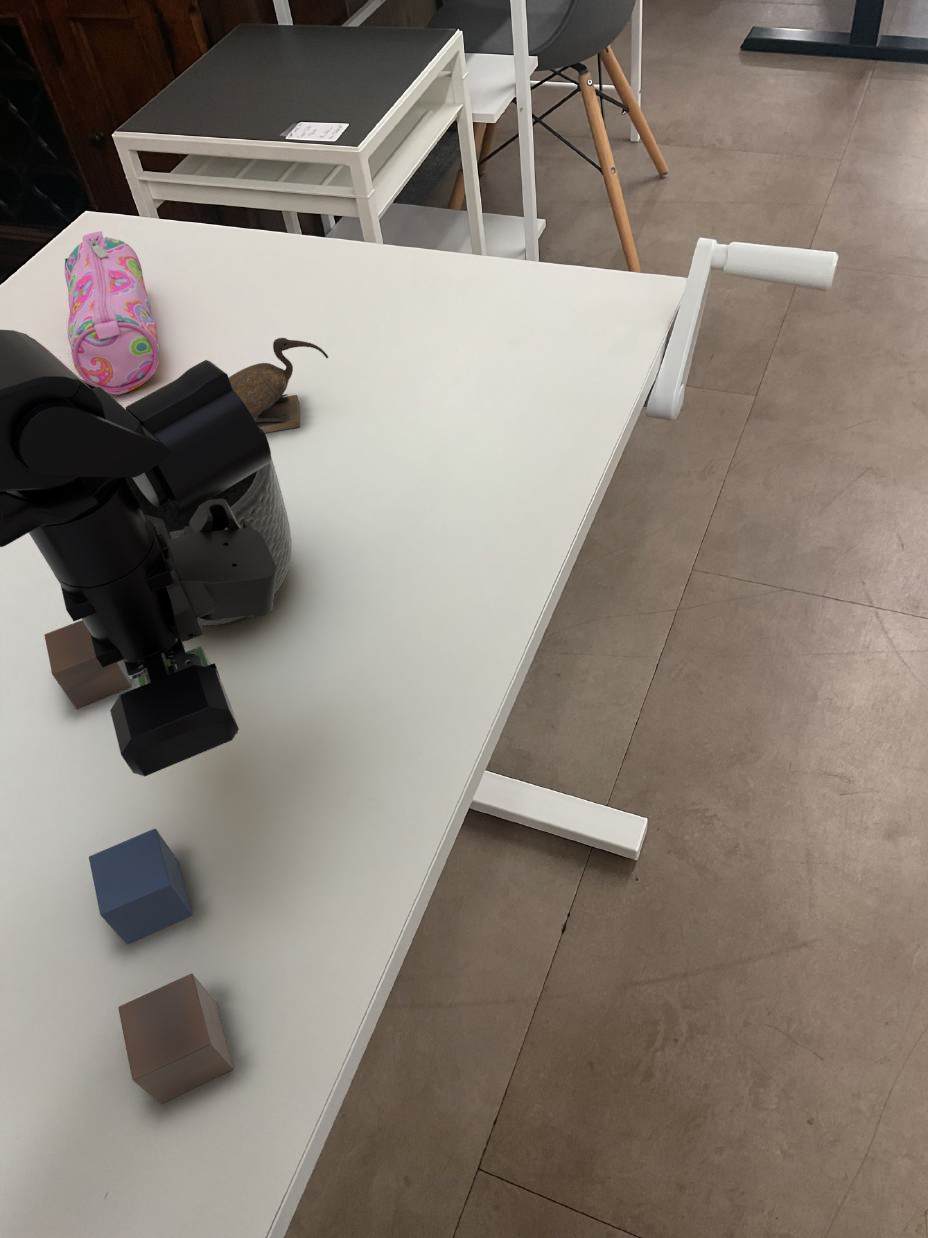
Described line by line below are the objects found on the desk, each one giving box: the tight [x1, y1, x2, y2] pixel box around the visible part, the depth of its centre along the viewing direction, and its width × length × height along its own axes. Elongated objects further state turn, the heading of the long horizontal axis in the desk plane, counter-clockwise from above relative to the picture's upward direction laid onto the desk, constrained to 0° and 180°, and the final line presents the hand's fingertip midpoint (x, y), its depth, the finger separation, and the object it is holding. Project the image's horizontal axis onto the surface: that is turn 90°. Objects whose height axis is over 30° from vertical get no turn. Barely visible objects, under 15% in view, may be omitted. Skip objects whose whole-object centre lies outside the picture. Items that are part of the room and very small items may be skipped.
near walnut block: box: [117, 973, 234, 1105], centre depth 59 cm, size 4×4×4 cm
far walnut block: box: [44, 619, 132, 709], centre depth 79 cm, size 4×4×4 cm
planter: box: [126, 456, 293, 626], centre depth 81 cm, size 14×14×13 cm
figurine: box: [228, 337, 329, 434], centre depth 97 cm, size 14×4×9 cm, turn 97°
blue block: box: [88, 828, 193, 945], centre depth 66 cm, size 4×4×4 cm
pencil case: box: [64, 231, 161, 395], centre depth 110 cm, size 21×9×9 cm, turn 17°
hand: (193, 714), depth 67 cm, fingers closed on green block, 4 cm apart
